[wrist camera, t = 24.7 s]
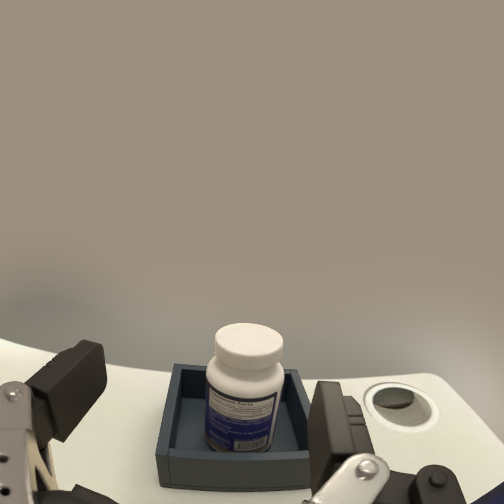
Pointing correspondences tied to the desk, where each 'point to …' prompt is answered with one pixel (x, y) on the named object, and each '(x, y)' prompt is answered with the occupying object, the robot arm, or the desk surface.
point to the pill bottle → (243, 388)
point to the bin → (230, 463)
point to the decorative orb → (492, 496)
